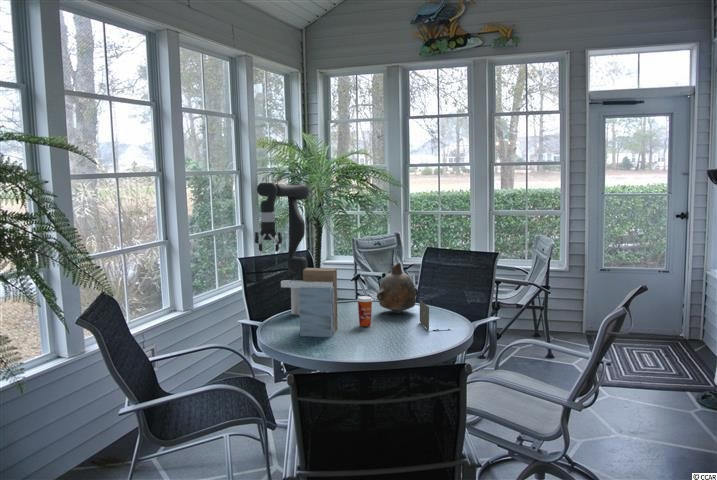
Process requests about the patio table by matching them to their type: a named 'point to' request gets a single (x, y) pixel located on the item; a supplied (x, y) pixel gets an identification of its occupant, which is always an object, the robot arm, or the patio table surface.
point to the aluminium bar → (307, 284)
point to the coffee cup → (364, 310)
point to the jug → (397, 291)
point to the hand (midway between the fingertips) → (268, 251)
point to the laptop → (424, 314)
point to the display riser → (318, 304)
